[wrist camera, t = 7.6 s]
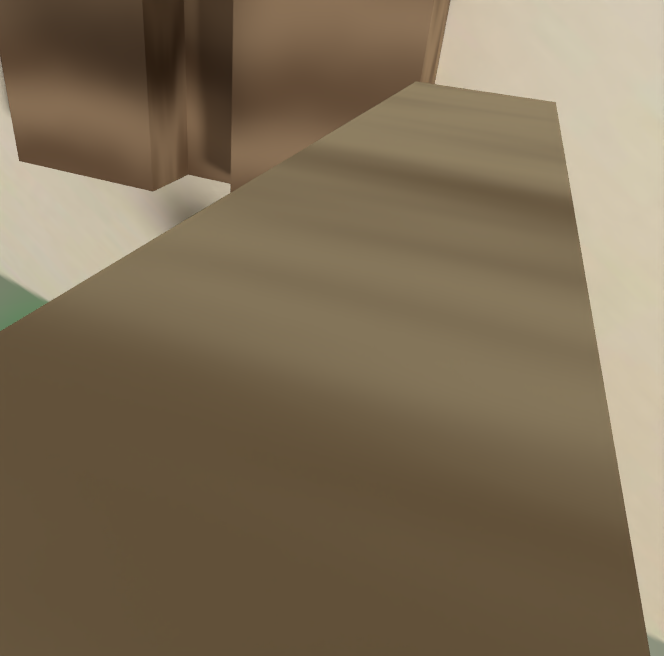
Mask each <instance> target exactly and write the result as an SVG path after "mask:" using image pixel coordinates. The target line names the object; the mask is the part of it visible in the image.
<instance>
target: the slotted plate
mask: <svg viewBox="0 0 664 656" xmlns="http://www.w3.org/2000/svg"><path fill="white" fill-rule="evenodd" d="M449 5H450V0H0V56H1V62H2V68H3V73H4V79H5V84H6V90H7V95H8V101H9V107H10V112H11V118H12V123H13V129H14V134H15V140H16V146H17V151H18V157H19V161H22V162H26V163H31V164H35V165H40V166H44V167H48V168H53V169H57V170H61V171H66V172H70V173H75V174H79V175H83V176H88V177H92V178H97V179H101V180H105V181H110V182H114V183H119V184H123V185H127V186H132V187H136V188H141V189H145V190H149V191H155V190H157V189H159V188H161V187H163V186H165V185H167V184H169V183H172V182H174V181H176V180H178V179H180V178H182V177H184V176H186V175H193V176H198V177H202V178H207V179H211V180H216V181H221V182H225V183H230V184H231V191H230V193H231V192H233V191H235V190H236V189H238V188H240V187H241V186H243V185H245V184H246V183H248V182H250V181H251V180H253V179H255V178H256V177H258V176H260V175H261V174H263V173H265V172H266V171H268V170H270V169H271V168H273V167H275V166H276V165H278V164H280V163H281V162H283V161H285V160H286V159H288V158H290V157H291V156H293V155H295V154H296V153H298V152H300V151H301V150H303V149H305V148H306V147H308V146H310V145H311V144H313V143H315V142H316V141H318V140H320V139H321V138H323V137H325V136H326V135H328V134H330V133H331V132H333V131H335V130H336V129H338V128H340V127H341V126H343V125H345V124H346V123H348V122H350V121H351V120H353V119H355V118H356V117H358V116H360V115H361V114H363V113H365V112H366V111H368V110H370V109H371V108H373V107H375V106H376V105H378V104H380V103H381V102H383V101H385V100H386V99H388V98H390V97H391V96H393V95H395V94H396V93H398V92H400V91H401V90H403V89H404V88H406V87H408V86H409V85H411V84H413V83H414V82H423V83H429V84H435V79H436V73H437V68H438V63H439V58H440V52H441V47H442V42H443V36H444V31H445V26H446V21H447V15H448V10H449Z"/></svg>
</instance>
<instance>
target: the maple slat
mask: <svg viewBox="0 0 664 656" xmlns="http://www.w3.org/2000/svg"><path fill="white" fill-rule="evenodd" d="M0 656H650V651H649V645H648V640H647V634H646V628H645V622H644V616H643V610H642V604H641V599H640V593H639V587H638V581H637V575H636V569H635V564H634V558H633V552H632V546H631V540H630V534H629V528H628V523H627V517H626V511H625V505H624V499H623V493H622V488H621V482H620V476H619V470H618V464H617V458H616V452H615V447H614V441H613V435H612V429H611V423H610V417H609V412H608V406H607V400H606V394H605V388H604V382H603V376H602V371H601V365H600V359H599V353H598V347H597V341H596V335H595V330H594V324H593V318H592V312H591V306H590V300H589V295H588V289H587V283H586V277H585V271H584V265H583V259H582V254H581V248H580V242H579V236H578V230H577V224H576V219H575V213H574V207H573V201H572V195H571V189H570V183H569V178H568V172H567V166H566V160H565V154H564V148H563V143H562V137H561V131H560V125H559V119H558V113H557V107H556V102H550V101H543V100H537V99H530V98H523V97H516V96H510V95H503V94H496V93H490V92H483V91H476V90H470V89H463V88H456V87H449V86H443V85H436V84H429V83H423V82H414V83H413V84H411V85H409V86H408V87H406V88H404V89H403V90H401V91H400V92H398V93H396V94H395V95H393V96H391V97H390V98H388V99H386V100H385V101H383V102H381V103H380V104H378V105H376V106H375V107H373V108H371V109H370V110H368V111H366V112H365V113H363V114H361V115H360V116H358V117H356V118H355V119H353V120H351V121H350V122H348V123H346V124H345V125H343V126H341V127H340V128H338V129H336V130H335V131H333V132H331V133H330V134H328V135H326V136H325V137H323V138H321V139H320V140H318V141H316V142H315V143H313V144H311V145H310V146H308V147H306V148H305V149H303V150H301V151H300V152H298V153H296V154H295V155H293V156H291V157H290V158H288V159H286V160H285V161H283V162H281V163H280V164H278V165H276V166H275V167H273V168H271V169H270V170H268V171H266V172H265V173H263V174H261V175H260V176H258V177H256V178H255V179H253V180H251V181H250V182H248V183H246V184H245V185H243V186H241V187H240V188H238V189H236V190H235V191H233V192H231V193H230V194H228V195H226V196H225V197H223V198H221V199H220V200H218V201H216V202H215V203H213V204H211V205H210V206H208V207H206V208H205V209H203V210H201V211H200V212H198V213H196V214H195V215H193V216H191V217H190V218H188V219H186V220H185V221H183V222H181V223H180V224H178V225H176V226H175V227H173V228H171V229H170V230H168V231H166V232H165V233H163V234H161V235H160V236H158V237H156V238H155V239H153V240H151V241H150V242H148V243H146V244H145V245H143V246H141V247H140V248H138V249H136V250H135V251H133V252H131V253H130V254H128V255H126V256H125V257H123V258H121V259H120V260H118V261H116V262H115V263H113V264H111V265H110V266H108V267H106V268H105V269H103V270H101V271H100V272H98V273H96V274H95V275H93V276H92V277H90V278H88V279H87V280H85V281H83V282H82V283H80V284H78V285H77V286H75V287H73V288H72V289H70V290H68V291H67V292H65V293H63V294H62V295H60V296H58V297H57V298H55V299H53V300H52V301H50V302H48V303H47V304H45V305H43V306H42V307H40V308H38V309H37V310H35V311H33V312H32V313H30V314H28V315H27V316H25V317H23V318H22V319H20V320H19V321H17V322H15V323H13V324H12V325H10V326H8V327H7V328H5V329H3V330H2V331H0Z"/></svg>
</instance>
